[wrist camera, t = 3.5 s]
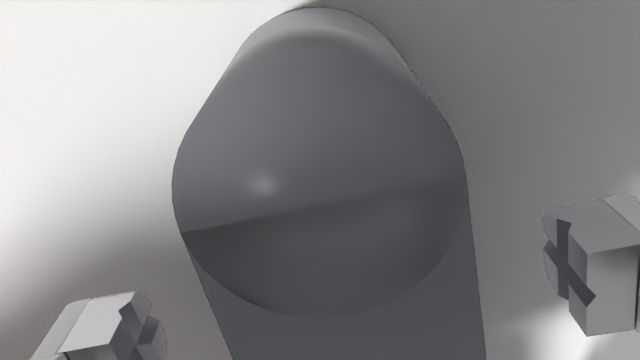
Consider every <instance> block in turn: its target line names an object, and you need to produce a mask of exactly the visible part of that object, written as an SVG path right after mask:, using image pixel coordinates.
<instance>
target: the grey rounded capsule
mask: <svg viewBox="0 0 640 360" xmlns="http://www.w3.org/2000/svg"><path fill="white" fill-rule="evenodd" d="M172 202H173V207H174V213H175V218H176V221H177V224H178V227H179V230H180V233H181V235H182V238H183V240H184V243H185V245H186V247H187V250H188V252H189V255H190V257H191V259H192V262H193V264H194V267H195V269H196V271H197V274H198V276H199V279H200V281H201V284H202V286H203V288H204V291H205V293H206V296H207V298H208V300H209V303H210V305H211V308H212V310H213V312H214V315H215V317H216V320H217V322H218V324H219V327H220V329H221V332H222V334H223V337H224V339H225V341H226V344H227V346H228V349H229V351H230V353H231V356H232V358H233V360H486V351H485V342H484V333H483V324H482V315H481V307H480V298H479V289H478V280H477V271H476V262H475V253H474V244H473V235H472V226H471V217H470V208H469V199H468V190H467V181H466V173H465V168H464V163H463V157H462V155H461V152H460V149H459V146H458V143H457V140H456V139H455V137H454V135H453V133H452V131H451V129H450V127H449V125H448V124H447V122H446V121H445V119H444V118H443V116H442V115H441V114H440V112H439V111H438V109H437V108H436V106H435V105H434V103H433V102H432V100H431V99H430V98H429V96H428V95H427V93H426V92H425V90H424V89H423V87H422V86H421V85H420V83H419V82H418V80H417V79H416V77H415V76H414V74H413V73H412V71H411V70H410V69H409V67H408V66H407V64H406V63H405V61H404V60H403V58H402V57H401V55H400V54H399V53H398V51H397V50H396V48H395V47H394V46H393V44H392V43H391V42H390V40H389V39H388V38H387V37H386V36H385V35H384V34H383V33H382V32H381V31H380V30H379V29H378V28H376V27H375V26H374V25H372V24H371V23H370V22H368V21H366V20H364V19H363V18H361V17H359V16H357V15H354V14H352V13H349V12H346V11H342V10H338V9H334V8H325V7H308V8H302V9H296V10H293V11H289V12H286V13H283V14H281V15H279V16H277V17H275V18H272V19H271V20H269V21H268V22H266V23H264V24H263V25H261V26H260V27H259V28H258V29H257V30H255V31H254V32H253V33H252V34H251V35H250V36H249V37H248V38H247V40H246V41H245V42H244V43H243V44H242V46H241V47H240V49H239V50H238V52H237V54H236V55H235V57H234V58H233V60H232V61H231V63H230V64H229V66H228V68H227V69H226V71H225V72H224V74H223V75H222V77H221V79H220V80H219V82H218V83H217V85H216V86H215V88H214V89H213V91H212V93H211V94H210V96H209V97H208V99H207V100H206V102H205V104H204V105H203V107H202V108H201V110H200V111H199V113H198V114H197V116H196V118H195V119H194V121H193V122H192V124H191V125H190V127H189V129H188V130H187V132H186V134H185V136H184V138H183V140H182V143H181V145H180V147H179V149H178V153H177V157H176V160H175V164H174V169H173V177H172Z"/></svg>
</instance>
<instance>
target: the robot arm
mask: <svg viewBox="0 0 640 360" xmlns="http://www.w3.org/2000/svg"><path fill="white" fill-rule="evenodd" d="M542 220H543V231H544V232H545V233H546V235H547V236H548V237H549V239H550V240H549V241H548V243H547V244H546V246H545V247H544V249H543V250H544V263H545V267H546V271H547V275H548V278H549V280H550V282H551V284H552V286H553V288H554V290H555V291H556V293H557V294H558V295H559V296H561V297H563V298H565V299H567V300H569V312H570V313H571V315H572V316H573V318H574V319H575V321H576V322H577V324H578V325H579V326H580V328H581V329H582V331H583V332H584V334H585V335H586V337H588V336H595V335H602V334H608V333H615V332H622V331H628V330H635V329H636V332H638V333H640V202H639V201H638V200H637V199H636V198H634V197H633V196H632V195H630V194H626V193H622V194H618V195H614V196H609V197H605V198H601V199H597V200H594V201H589V202H584V203H580V204H575V205H570V206H566V207H561V208H556V209H552V210H547V211H544V214H543V218H542ZM151 307H152V303H151V302H150V300H149V298H148V296H147V294H146V292H144V291H141V290H134V291H129V292H123V293H117V294H111V295H106V296H100V297H95V298H88V299H83V300H79V301H74V302H71V303H69V304H67V305H66V306H65V308H64V309H63V311H62V312H61V314H60V315H59V317H58V318H57V320H56V321H55V323H54V324H53V326H52V327H51V329H50V330H49V332H48V333H47V335H46V336H45V338H44V339H43V341H42V342H41V343H40V345H39V346H38V348H37V349H36V351H35V352H34V354H33V355H32V357H31V358H30V359H28V360H165V358H166V353H167V340H166V336H165V331H164V329H163V327H162V324H161V322H160V321H159V320H157V319H156V318H154V317H152V316H151V315H149V313H150V310H151Z"/></svg>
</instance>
